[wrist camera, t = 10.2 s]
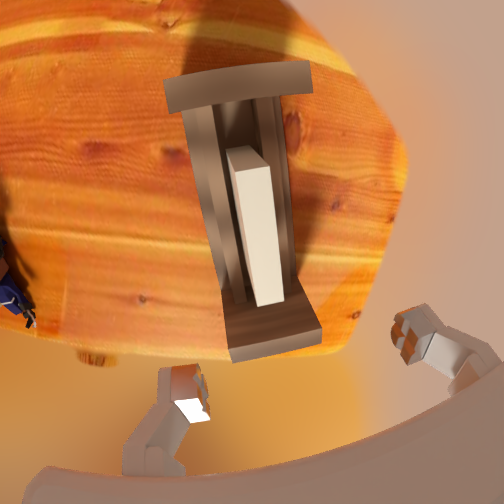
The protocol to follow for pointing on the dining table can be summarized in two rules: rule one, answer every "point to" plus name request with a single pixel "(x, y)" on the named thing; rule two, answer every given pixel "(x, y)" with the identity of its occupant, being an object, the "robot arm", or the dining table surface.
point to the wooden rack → (222, 201)
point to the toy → (13, 292)
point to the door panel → (256, 222)
